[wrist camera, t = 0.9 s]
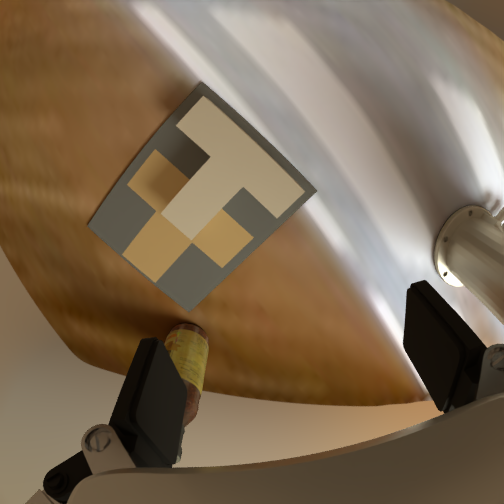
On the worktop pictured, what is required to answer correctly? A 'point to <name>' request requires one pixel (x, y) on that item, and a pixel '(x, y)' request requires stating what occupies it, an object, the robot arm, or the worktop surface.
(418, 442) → the robot arm
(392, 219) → the worktop surface
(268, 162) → the T block
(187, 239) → the mat
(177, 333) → the sauce bottle
